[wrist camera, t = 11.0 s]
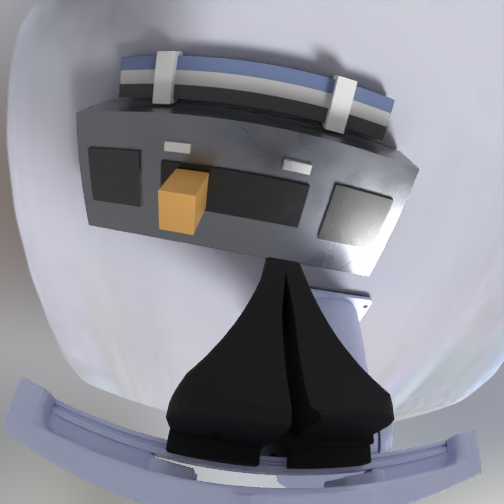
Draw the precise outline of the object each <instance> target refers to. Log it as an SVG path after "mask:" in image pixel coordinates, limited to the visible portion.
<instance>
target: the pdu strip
mask: <svg viewBox="0 0 504 504" xmlns="http://www.w3.org/2000/svg"><path fill="white" fill-rule="evenodd" d="M77 135H78V149H79V160H80V170H81V178H82V186H83V193H84V199H85V205H86V211H87V217H88V222H89V225H92V226H97V227H103V228H108V229H113V230H119V231H124V232H130V233H135V234H140V235H146V236H151V237H157V238H162V239H167V240H173V241H178V242H184V243H189V244H195V245H200V246H205V247H211V248H216V249H222V250H227V251H233V252H238V253H244V254H249V255H255V256H260V257H266V258H268V257H273V258H278V259H284V260H289V261H295V262H299V264H304V265H310V266H315V267H321V268H326V269H332V270H338V271H343V272H349V273H354V274H360V275H366V276H369V275H370V273H371V271H372V269H373V267H374V265H375V264H376V262H377V260H378V258H379V256H380V254H381V252H382V250H383V248H384V246H385V244H386V242H387V240H388V238H389V236H390V234H391V232H392V230H393V228H394V226H395V224H396V222H397V220H398V218H399V215H400V213H401V211H402V209H403V207H404V204H405V202H406V200H407V198H408V195H409V193H410V191H411V188H412V186H413V184H414V181H415V179H416V176H417V174H418V171H419V168H418V167H417V166H415V165H414V164H413V163H412V162H411V161H410V160H409V159H408V158H407V157H406V156H405V155H403V154H402V153H401V152H400V151H398V150H395V149H392V148H390V147H387V146H384V145H381V144H378V143H375V142H372V141H369V140H366V139H363V138H360V137H356V136H353V135H350V134H346V133H344V134H341V133H338V132H334V131H331V130H327V129H325V128H324V127H321V126H317V125H313V124H309V123H304V122H300V121H296V120H291V119H286V118H281V117H276V116H271V115H266V114H260V113H254V112H248V111H242V110H235V109H228V108H220V107H212V106H203V105H192V104H179V103H171V104H155V103H153V102H102V103H100V104H97V105H94V106H92V107H89V108H86V109H84V110H81V111H79V112H77ZM176 169H185V170H192V171H199V172H206V173H209V178H208V188H207V199H206V208H205V211H204V213H203V215H202V217H201V219H200V222H199V224H198V226H197V228H196V231H195V233H194V235H190V234H185V233H179V232H173V231H168V230H162V229H159V207H158V190H159V189H160V188H161V186H162V185H163V184H164V183H165V182H166V180H167V179H168V178H169V177H170V176H171V174H172V173H173V172H174V171H175V170H176Z"/></svg>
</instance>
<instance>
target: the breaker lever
mask: <svg viewBox="0 0 504 504" xmlns="http://www.w3.org/2000/svg"><path fill="white" fill-rule="evenodd" d="M208 178H209V173H206V172H199V171H192V170H185V169H176V170H175V171H174V172H173V173H172V174H171V176H170V177H169V178H168V179H167V180H166V182H165V183H164V184H163V185H162V186H161V188H160V189H159V190H158V207H159V229H162V230H168V231H173V232H179V233H185V234H190V235H194V233H195V231H196V228H197V226H198V224H199V222H200V219H201V217H202V215H203V213H204V211H205V208H206V199H207V188H208Z"/></svg>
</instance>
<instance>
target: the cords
mask: <svg viewBox="0 0 504 504" xmlns="http://www.w3.org/2000/svg"><path fill="white" fill-rule="evenodd" d="M119 97H148V98H153V103H155V104H171V103H174V102H176V101H178V99H187V100H199V101H209V102H218V103H226V104H234V105H241V106H247V107H253V108H259V109H265V110H270V111H276V112H281V113H286V114H290V115H295V116H299V117H304V118H308V119H312V120H316V121H320V122H322V125H323V127H324V128H325V129H327V130H331V131H334V132H338V133H341V134H344V130H345V128H346V129H349V130H352V131H356V132H359V133H362V134H365V135H368V136H371V137H374V138H377V139H380V140H383V137H384V134H385V131H386V128H387V124H388V121H389V118H390V115H391V111H392V108H393V104H394V101H395V100H393V99H391V98H388V97H386V96H383V95H381V94H378V93H375V92H372V91H370V90H367V89H364V88H361V87H358V86H357V81H354V80H351V79H348V78H345V77H341V76H338V75H334V76H333V79H332V78H328V77H325V76H321V75H317V74H313V73H309V72H305V71H300V70H296V69H291V68H286V67H281V66H276V65H270V64H264V63H258V62H251V61H244V60H236V59H227V58H216V57H202V56H183V52H181V51H157V56H133V57H122V62H121V75H120V93H119Z"/></svg>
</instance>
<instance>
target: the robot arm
mask: <svg viewBox="0 0 504 504" xmlns="http://www.w3.org/2000/svg"><path fill="white" fill-rule="evenodd" d="M371 304H372V300H371V298H369V297H362V296H356V295H349V294H343V293H336V292H330V291H324V290H317V289H311V288H310V287H309V285H308V282H307V280H306V278H305V276H304V273H303V271H302V268H301V266H300V264H299V262H295V261H289V260H284V259H278V258H273V257H268V258H266V261H265V265H264V269H263V272H262V276H261V280H260V282H259V284H258V286H257V288H256V290H255V292H254V294H253V296H252V298H251V299H250V301H249V303H248V304H247V306H246V308H245V309H244V311H243V312H242V314H241V315H240V317H239V318H238V320H237V321H236V322H235V324H234V325H233V326H232V328H231V329H230V330H229V331H228V333H227V334H226V335H225V336H224V337H223V339H222V340H221V341H220V342H219V343H218V344H217V345H216V346H215V347H214V348H213V349H212V350H211V351H210V353H209V354H208V355H207V356H206V357H205V358H204V359H203V360H201V361H200V362H199V363H198V364H197V365H196V366H195V367H194V368H192V369H191V370H190V371H189V372H188V373H187V374H186V375H185V377H184V378H183V380H182V381H181V383H180V384H179V386H178V387H177V389H176V390H175V392H174V394H173V395H172V397H171V400H170V402H169V406H168V410H167V415H166V419H167V422H168V424H169V427H170V431H169V436H168V440H165V439H161V438H157V437H154V436H150V435H147V434H143V433H140V432H136V431H134V430H130V429H127V428H124V427H122V426H119V425H116V424H113V423H110V422H108V421H105V420H103V419H100V418H97V417H95V416H92V415H90V414H88V413H85V412H83V411H80V410H78V409H76V408H74V407H72V406H70V405H67V404H65V403H63V402H61V401H59V400H57V399H55V397H54V396H53V395H52V394H51V393H50V392H49V391H47V390H46V389H44V388H42V387H41V386H39V385H37V384H35V383H33V382H32V381H30V380H28V379H26V378H25V377H22V378H21V381H20V383H19V385H18V387H17V390H16V392H15V394H14V397H13V399H12V401H11V404H10V406H9V409H8V411H7V414H6V417H5V419H4V422H3V425H2V429H3V430H4V431H6V432H7V433H8V434H10V435H11V436H12V437H14V438H15V439H17V440H18V441H20V442H21V443H22V444H24V445H25V446H27V447H28V448H30V449H31V450H33V451H34V452H36V453H38V454H39V455H41V456H42V457H44V458H46V459H47V460H49V461H51V462H52V463H54V464H55V465H57V466H59V467H61V468H62V469H64V470H66V471H68V472H70V473H72V474H73V475H75V476H77V477H79V478H81V479H83V480H85V481H87V482H89V483H91V484H93V485H96V486H98V487H100V488H102V489H104V490H107V491H109V492H111V493H114V494H116V495H119V496H121V497H124V498H127V499H130V500H132V501H135V502H138V503H141V504H413V503H415V502H418V501H421V500H423V499H426V498H428V497H431V496H433V495H436V494H438V493H440V492H442V491H444V490H447V489H449V488H451V487H453V486H455V485H457V484H460V483H462V482H464V481H466V480H468V479H470V478H472V477H474V476H476V475H478V474H480V473H481V463H480V455H479V448H478V442H477V436H476V431H475V429H471V430H468V431H464V432H461V433H459V434H456V435H454V436H452V437H450V438H449V439H447V440H445V441H441V442H438V443H433V444H429V445H425V446H420V447H415V448H410V449H405V450H399V451H392V452H391V446H392V442H393V424H392V422H393V420H394V414H393V405H392V401H391V397H390V394H389V393H388V392H387V390H386V389H384V388H383V387H381V385H379V384H378V383H377V382H376V381H374V380H373V379H372V378H371V376H369V375H368V369H367V362H366V356H365V350H364V345H363V339H362V334H361V328H360V323H359V322H360V320H361V319H362V317H363V316H364V314H365V313H366V311H367V310H368V308H369V307H370V305H371ZM155 456H157V457H161V458H165V459H169V460H173V461H177V462H181V463H186V464H191V465H196V466H201V467H206V468H213V469H219V470H226V471H233V472H242V473H252V474H266V475H276V476H277V481H278V482H279V483H280V484H281V485H283V486H285V487H286V488H259V487H257V488H256V487H244V486H233V485H224V484H216V483H209V482H202V481H197V480H196V479H197V474H196V473H195V472H194V469H193V468H190V467H186V466H182V465H179V464H175V463H172V462H169V461H165V460H161V459H158V458H156V457H155Z"/></svg>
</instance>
